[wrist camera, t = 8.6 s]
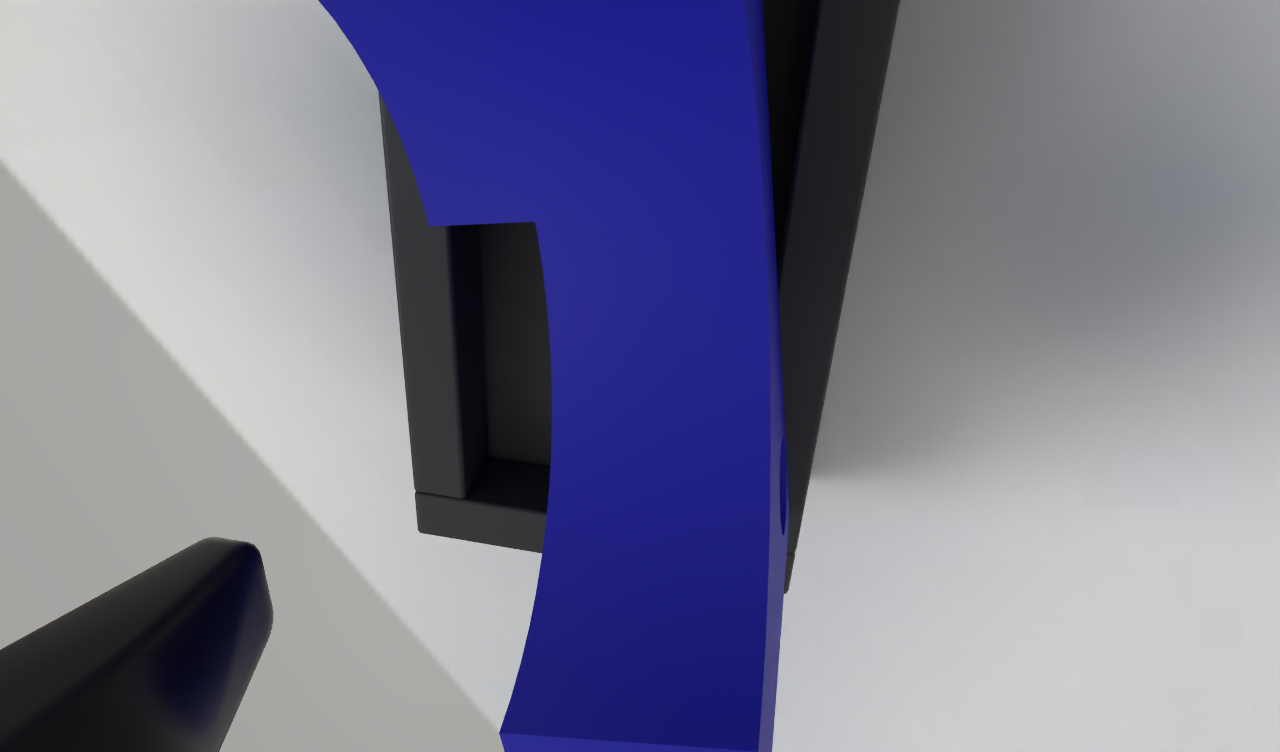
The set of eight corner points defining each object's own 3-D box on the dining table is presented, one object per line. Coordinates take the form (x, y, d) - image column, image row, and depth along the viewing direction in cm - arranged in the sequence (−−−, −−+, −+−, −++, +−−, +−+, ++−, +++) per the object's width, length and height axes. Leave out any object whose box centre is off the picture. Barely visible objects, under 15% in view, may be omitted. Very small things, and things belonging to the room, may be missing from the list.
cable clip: (356, -304, 11) (-35, -366, 6) (743, -372, 10) (647, -509, 5) (536, 505, 17) (410, 803, 12) (790, 510, 16) (765, 835, 11)
